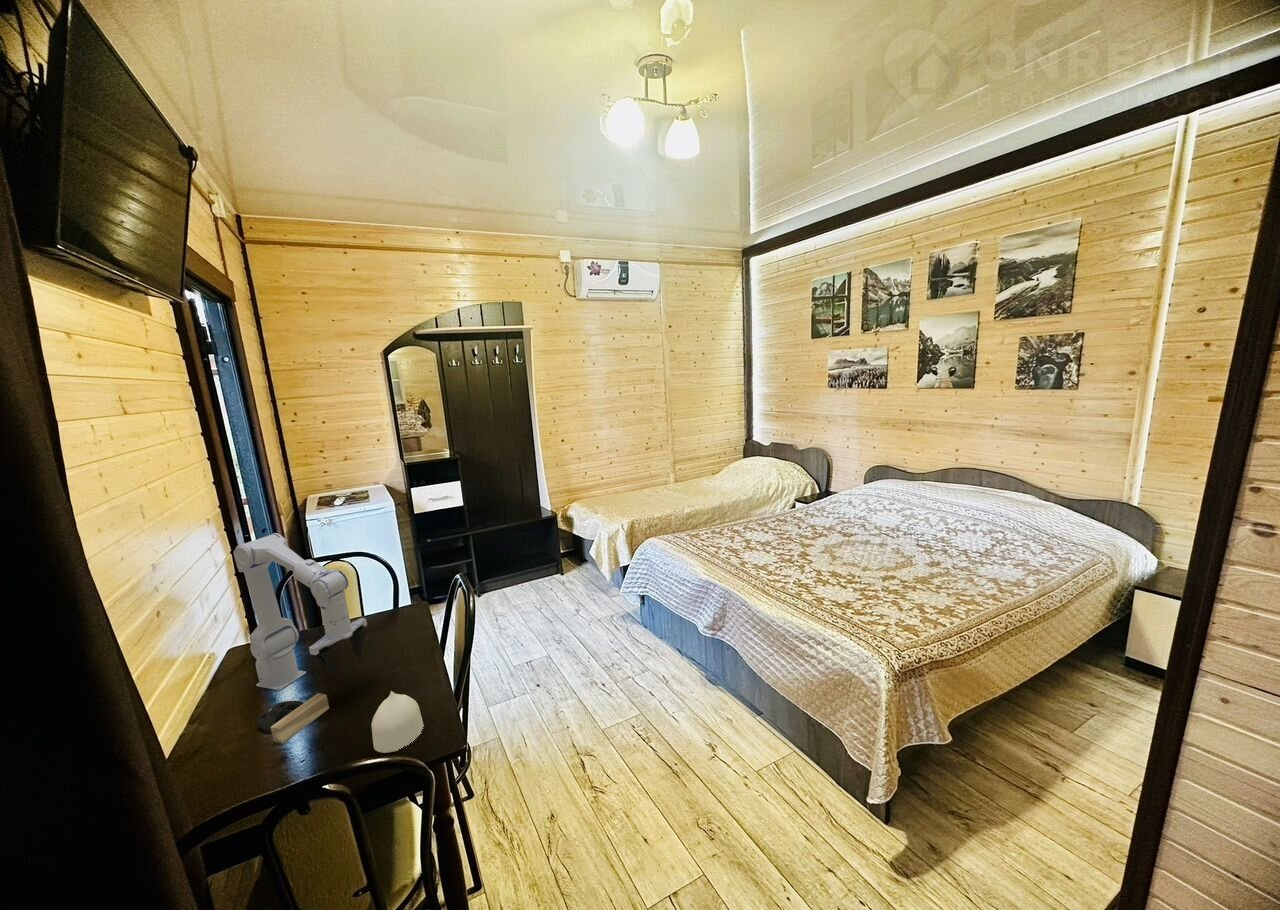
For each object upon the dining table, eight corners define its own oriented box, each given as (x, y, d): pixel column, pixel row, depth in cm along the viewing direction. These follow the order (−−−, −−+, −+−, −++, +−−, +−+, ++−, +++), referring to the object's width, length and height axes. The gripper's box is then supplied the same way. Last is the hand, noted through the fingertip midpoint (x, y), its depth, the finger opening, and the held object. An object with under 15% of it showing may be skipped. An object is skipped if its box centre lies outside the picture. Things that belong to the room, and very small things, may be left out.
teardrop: (376, 726, 113) (368, 683, 111) (425, 711, 117) (418, 670, 115) (369, 760, 103) (360, 713, 101) (422, 742, 107) (414, 697, 105)
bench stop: (273, 741, 110) (270, 727, 109) (320, 706, 121) (317, 693, 121) (282, 743, 109) (279, 729, 108) (329, 708, 120) (326, 694, 120)
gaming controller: (273, 732, 112) (255, 715, 112) (263, 744, 114) (246, 727, 114) (308, 704, 121) (292, 689, 122) (299, 715, 123) (283, 700, 123)
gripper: (318, 634, 113) (328, 683, 115) (371, 605, 126) (379, 650, 128) (299, 630, 115) (309, 678, 118) (353, 602, 128) (361, 646, 131)
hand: (344, 663), depth 123 cm, fingers open, 7 cm apart
